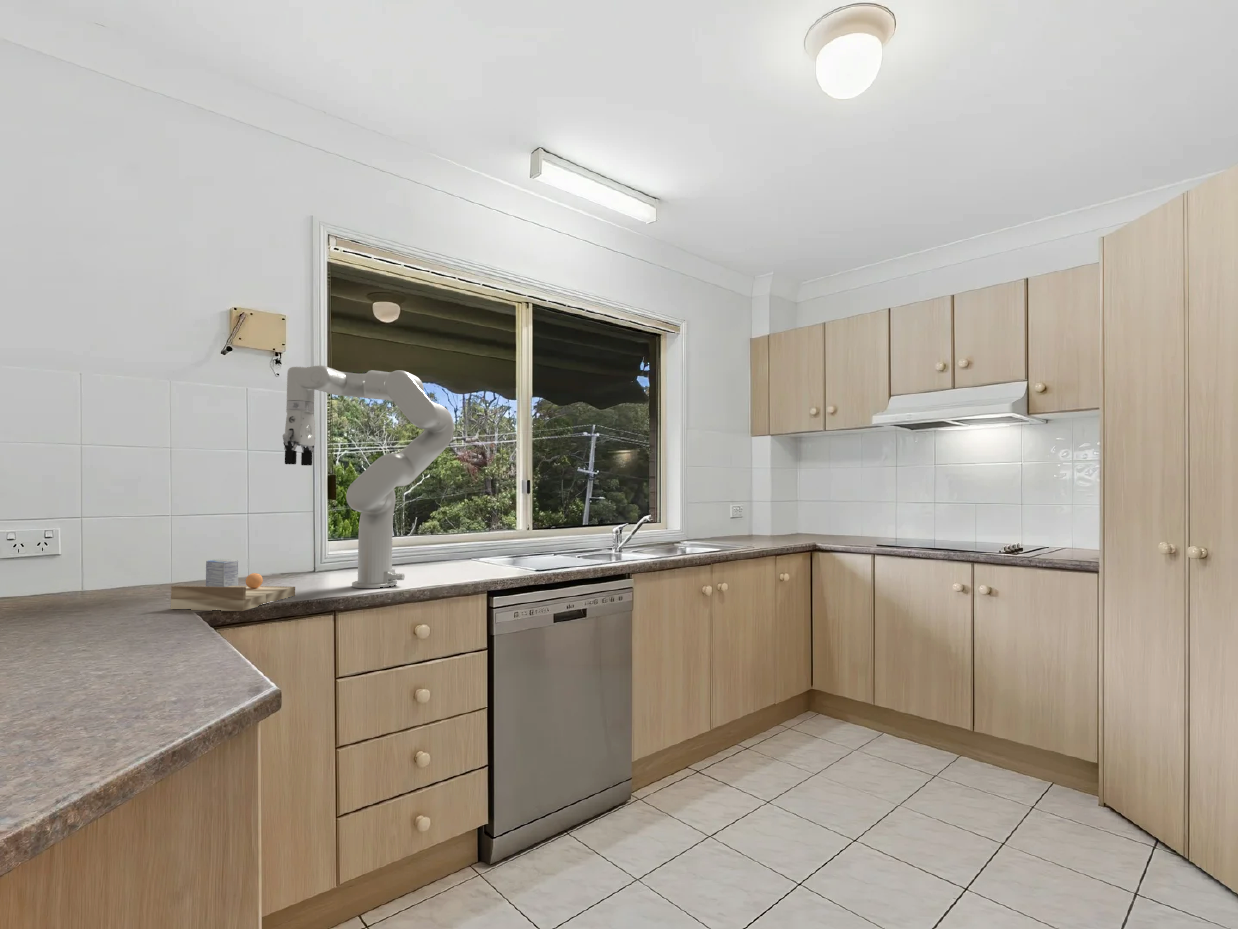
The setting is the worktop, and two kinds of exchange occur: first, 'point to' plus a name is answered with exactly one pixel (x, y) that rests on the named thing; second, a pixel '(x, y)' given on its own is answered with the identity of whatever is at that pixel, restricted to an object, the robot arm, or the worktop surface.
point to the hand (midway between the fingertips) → (298, 464)
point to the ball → (254, 580)
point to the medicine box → (221, 573)
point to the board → (226, 597)
